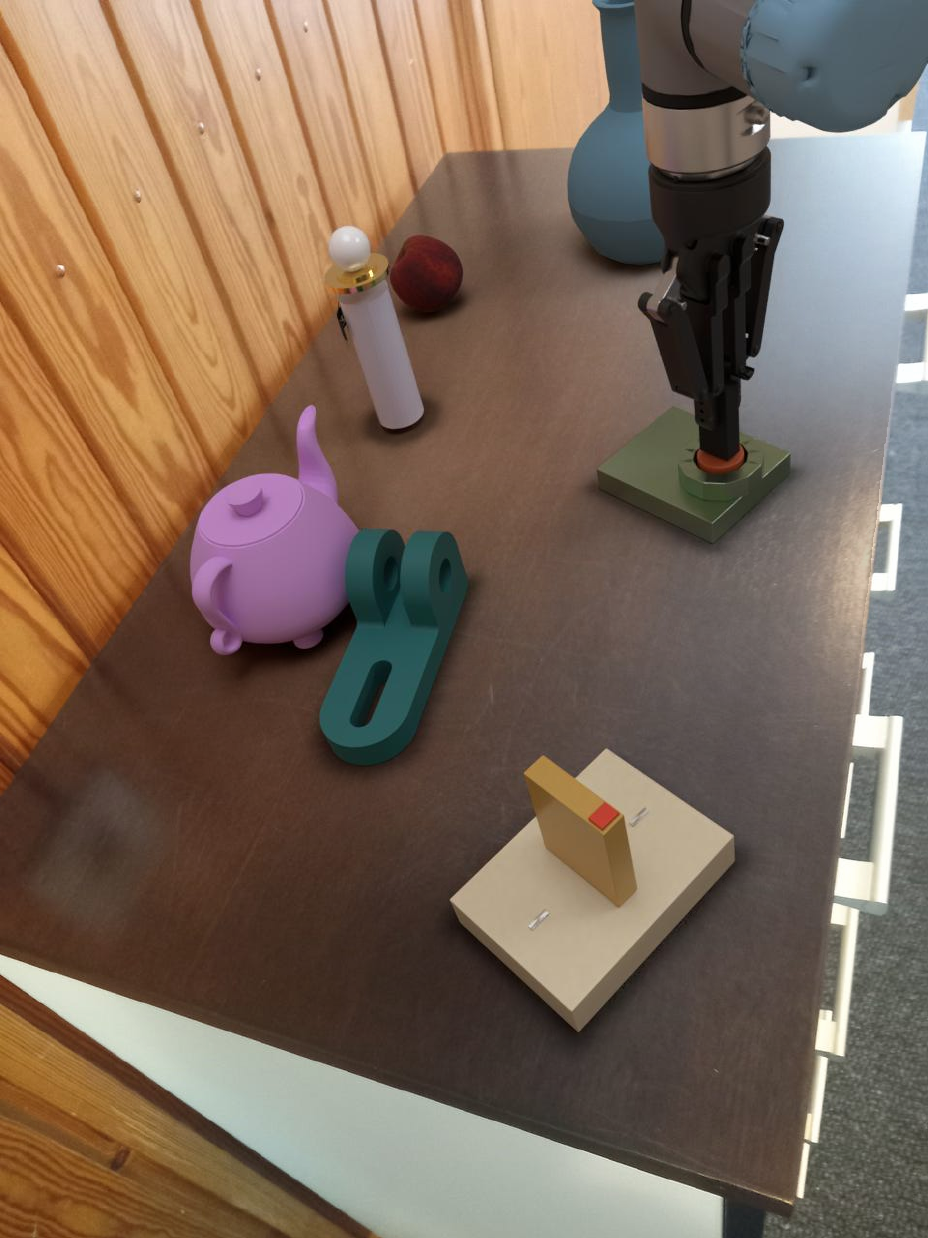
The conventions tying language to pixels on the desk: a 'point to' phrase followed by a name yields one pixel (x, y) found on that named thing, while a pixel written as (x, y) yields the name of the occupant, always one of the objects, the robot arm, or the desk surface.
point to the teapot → (273, 554)
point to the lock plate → (594, 895)
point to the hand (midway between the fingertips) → (719, 449)
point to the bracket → (392, 639)
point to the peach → (426, 273)
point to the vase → (616, 154)
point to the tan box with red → (582, 830)
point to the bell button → (719, 462)
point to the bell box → (690, 476)
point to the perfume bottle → (373, 326)
